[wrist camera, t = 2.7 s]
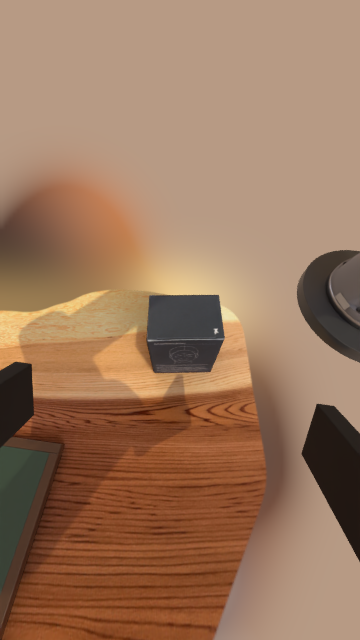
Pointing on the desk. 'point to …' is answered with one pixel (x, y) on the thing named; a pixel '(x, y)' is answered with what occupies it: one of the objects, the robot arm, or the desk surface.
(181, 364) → the box
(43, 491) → the chalkboard
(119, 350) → the desk surface
